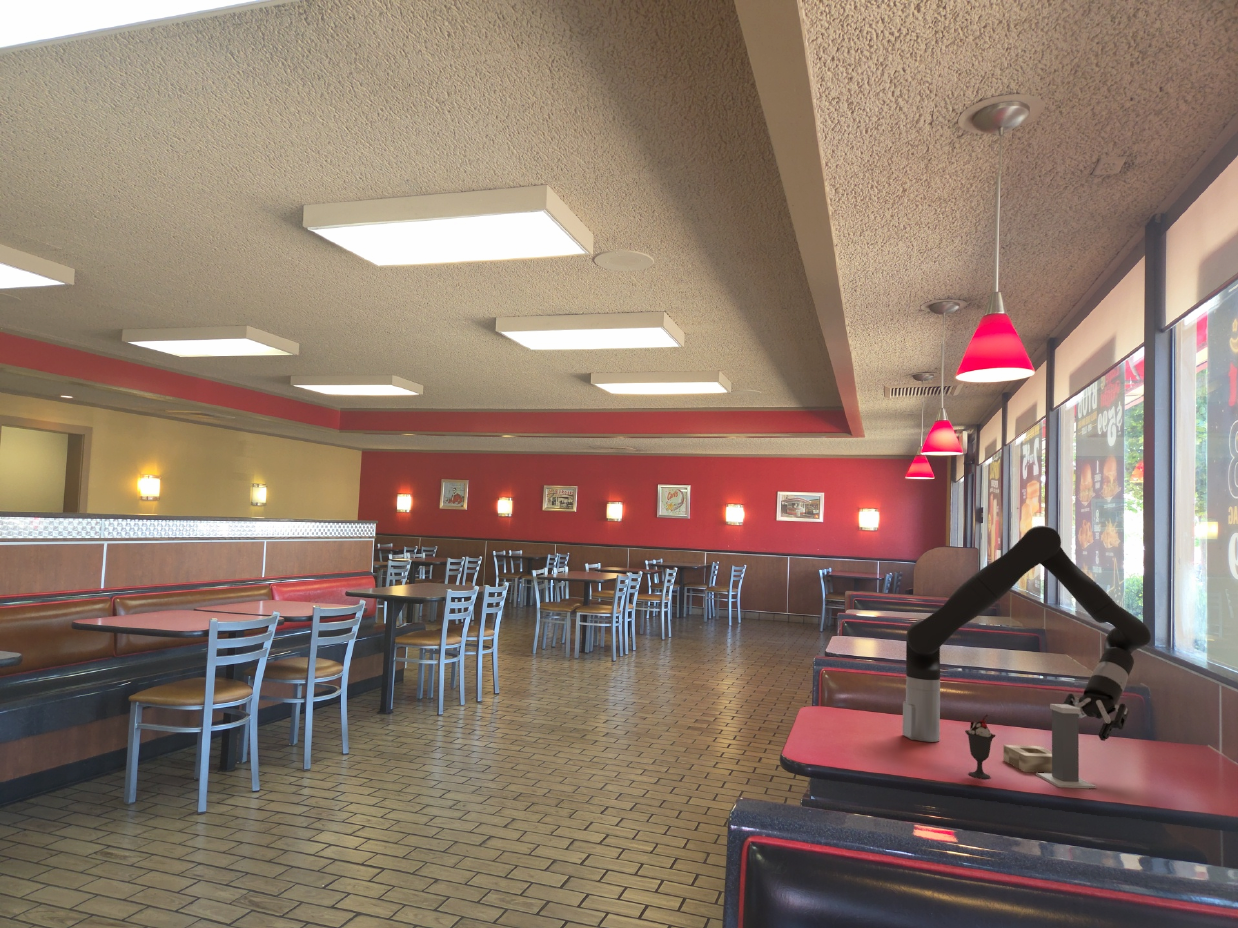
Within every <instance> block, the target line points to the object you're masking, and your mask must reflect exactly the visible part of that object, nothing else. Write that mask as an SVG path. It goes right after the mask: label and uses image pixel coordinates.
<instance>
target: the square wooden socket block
mask: <svg viewBox="0 0 1238 928" xmlns="http://www.w3.org/2000/svg"><path fill="white" fill-rule="evenodd" d="M1003 761H1005V762H1006V763H1008V764H1009V765H1011V766H1012V767H1015V768H1017V769H1018V768H1019V769H1018V770H1020V769H1021V771H1022V770H1023V771H1022V772H1024V773H1038V772H1044V773H1052V750H1049V749H1047V748H1046V747H1043V746H1038V745H1021V744H1020V745H1019V744H1018V745H1015V744H1003Z"/></svg>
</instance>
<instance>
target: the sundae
mask: <svg viewBox="0 0 1238 928" xmlns="http://www.w3.org/2000/svg"><path fill="white" fill-rule="evenodd" d="M988 717H989V715H988V714H985V716H984V717H983V718H982V719H980V720H979V721H975V722H974V721H971V722H970V727H969V730H968V729H965V730H964V732H965V734H966V735H967V738H968V742H969V745H968V746H969V752H970V755H971V756H972V758H973V759H974V760H975V761H976V770H975V771H969V772H968V775H969V776H970V777H972V778H975V777H977V778H976V779H980V778H982V779H981V780H990V779H991V778H992V776H991V775H990V774H987V773H985V772H984V769H983V762H984V761H986V760H987V759H988V758H990V757H989V756H990V752H991V747H992V741H993V739H994V738H995V737H996V736H997V735H996V734H993V733H992V732H991V731H990V729H989V728H988V724H987V723H986V720H985V719H986V718H988ZM989 778H990V779H989Z"/></svg>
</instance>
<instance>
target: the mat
mask: <svg viewBox="0 0 1238 928" xmlns="http://www.w3.org/2000/svg"><path fill="white" fill-rule="evenodd" d="M1035 773H1036V776H1037V777H1038V778H1040V777H1042V778H1043V780H1044V779H1045V782H1046V781H1047V782H1048V781H1049V782H1048V783H1049V784H1052V785H1054V786H1055V787H1057V788H1067V789H1068V788H1070V789H1071V788H1072V789H1089V788H1096V789H1097V786H1096V785H1095V784H1092V783H1091V782H1088V781H1086V780H1084V779H1082V778H1080V777H1079V782H1063V781H1061V780H1059V779H1057V778H1055V777H1053V776H1052V773H1038V772H1035ZM1042 778H1041V779H1042Z"/></svg>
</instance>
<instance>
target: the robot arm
mask: <svg viewBox="0 0 1238 928" xmlns="http://www.w3.org/2000/svg"><path fill="white" fill-rule="evenodd" d="M1038 565H1041V566H1042V567H1044V569H1046V570H1047V571H1048V572H1049V573H1050V574H1052V575H1053V577H1055V578H1056V579H1057V581H1059V583H1061V585H1062V586H1063V587H1064V588H1065V589H1066V590H1067V591H1068V592H1069V594H1070V595H1071V596H1072V597H1073V598H1074V599H1075V601H1076V602H1077V603H1078V604H1079V605H1080V606H1081V608H1083V609H1084V610H1085V612H1087V614H1088V615H1089V616H1090V617H1091V618H1092V619H1093V620H1094V621H1095V622H1097V623H1099V624H1105V623H1107V624H1109V625H1111V626H1112V627H1113V628H1112V629H1111V630H1110V631H1109V632H1108V633H1107V635H1106V637H1105V641H1104V647H1103V653H1102V655H1101V658H1100V659H1099V661H1098V663H1097V664H1096V665H1097V666H1095V668H1094V669H1093V671H1092V673H1091V675H1090V678H1089V679H1088V682H1087V684H1086V686H1085V687H1084V691H1083V694H1082V695H1081V696H1080V697H1077V696H1075V695H1074V694H1073V693H1068V695H1067V696H1066V699H1065V700H1064V702H1063V703H1062V704H1068V705H1071V706H1074V707H1077V708H1080V710H1082V711H1080V714H1078V719H1083V718H1085V717H1090V718H1095V719H1098V720H1101V719H1103V720H1104V722H1103V724H1102V726H1101V728H1100V730H1099V732H1098V737H1099V739H1100V741H1104V742H1105V741H1106V740H1108V739H1109V738H1110V735H1111V733H1112V731H1113V730H1115V729H1118V730H1123V729H1124V727H1125V724H1126V721H1127V719H1128V715H1129V710H1128V708H1127V706H1126V704H1125V703H1120V704H1118V703H1119V701H1120V700H1121V697H1122V694H1123V692H1124V691H1125V689H1126V685H1127V683H1128V680H1129V679H1128V678H1129V677H1130V673H1132V670H1133V668H1134V663H1135V661H1134V656H1133V655H1132V653H1133V652H1134V651H1136V650H1138V649H1141V648H1143V647H1145V646H1147V645H1148V644H1149V643H1150V641H1151V639H1152V638H1151V637H1152V636H1151V633H1150V630H1149V628H1148V626H1147V625H1146V624H1145V623H1144V622H1143V621H1142V620H1141V619H1139V617H1136V616H1135V615H1134V614H1132V613H1131V612H1129V611H1128V610H1126V609H1125V608H1123V607H1121V606H1120V605H1118V604H1117V602H1116V601H1115V600H1114V599H1113V598H1112V597H1111V596H1110V595H1109V594H1108V593H1107V591H1105V590H1104V589H1103V588H1102V587H1101V586H1100V585H1099V584H1098V583H1097V582H1096V581H1094V580H1093V578H1091V577H1090V576H1089V575H1087V574H1086V573H1085V572H1084V571H1083V570H1081V568H1080V567H1078V566H1077V564H1075V563H1074V561H1073V560H1072V559H1071V558H1070V557H1069V556H1068V555H1067V553H1066V552H1065V551H1064V549H1063V548H1062V539H1061V536H1060V534H1059V533H1058V531H1057V530H1056V529H1054V528H1053V527H1051V526H1049V525H1037V526H1033V527H1031V528H1030V529H1028V530H1027V531H1026V532H1025V533H1024V534H1023V536H1022V537H1021V538H1020V539H1019V540H1018V541H1017V542H1016V543H1015V544H1014V545H1013V546H1012V547H1011V548H1010V549H1009V550H1008V551H1007V552H1005V553H1004V554H1003V555H1001V556H1000V557H998V558H996V559H995V560H993V561H991V562H990V563H989V564H987V565H986V566H985V567H982V568H981V569H980V570H978V571H977V572H975V574H974V575H972V576H971V577H970V578H968V579H967V580H965V582H964V583H962V584H961V586H959V587H958V588H957V589H956V590H955V591H954V593H953V594H952V595H951V596H950V597H949V598H948V600H947V601H946V602H945V603H944V604H943V605H942V606H941V607H940V608H938V610H936V611H934V612H933V613H932V614H930V615H929V616H928V617H926V618H924V619H922V620H916V621H914V622H912V623H911V624H910V626H908V628H907V631H906V638H905V639H906V640H905V641H906V646H905V647H906V648H905V649H906V651H905V670H906V672H905V675H906V676H905V679H906V680H905V700H904V701H902V735H903V736H904V737H906V738H907V739H909V740H910V741H911V740H912V741H919V742H927V743H936V742H939V741H940V740H941V739H940V735H941V731H940V728H941V725H940V721H941V719H940V718H941V717H940V716H941V715H940V713H941V659H940V658H941V655H940V654H941V647H942V646H943V645H944V643H946V641H948V639H949V638H951V636H953V635H954V633H956V631H958V630H959V629H961V628H962V627H963V626H964V625H966V624H968V623H970V622H971V621H972V620H973V619H976V618H977V617H978V616H980V615H981V614H983V613H984V612H985V611H986V610H988V609H989V608H990V607H992V606H993V605H995V604H996V603H997V602H998V601H999V600H1001V599H1002V598H1003V597H1004V596H1005V595H1006V594H1008V592H1009V591H1010V590H1011V589H1012V588H1013V587H1014V586H1015V585H1016V584H1017V583H1018V582H1019V580H1020V579H1022V577H1023V576H1025V575H1026V574H1027V573H1028V572H1030V571H1031V570H1032V569H1034V568H1036V566H1038ZM1115 712H1116V714H1115V717H1114V719H1111V717H1110V715H1111V714H1113V713H1115Z"/></svg>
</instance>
